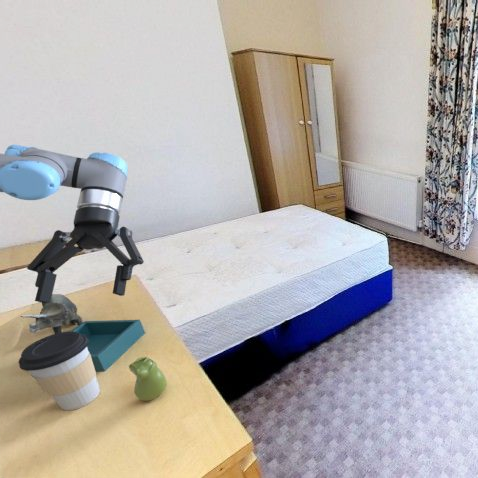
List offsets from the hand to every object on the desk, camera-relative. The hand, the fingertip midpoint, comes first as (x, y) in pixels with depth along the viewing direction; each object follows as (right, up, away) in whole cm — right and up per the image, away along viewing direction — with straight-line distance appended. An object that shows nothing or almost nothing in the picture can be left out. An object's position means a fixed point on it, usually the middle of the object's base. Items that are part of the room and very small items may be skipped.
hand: (81, 298), depth 71 cm
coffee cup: (+2, -22, -2) cm, 22 cm away
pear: (+17, -22, 0) cm, 27 cm away
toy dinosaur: (-24, -12, +19) cm, 32 cm away
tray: (-7, -16, +11) cm, 20 cm away
